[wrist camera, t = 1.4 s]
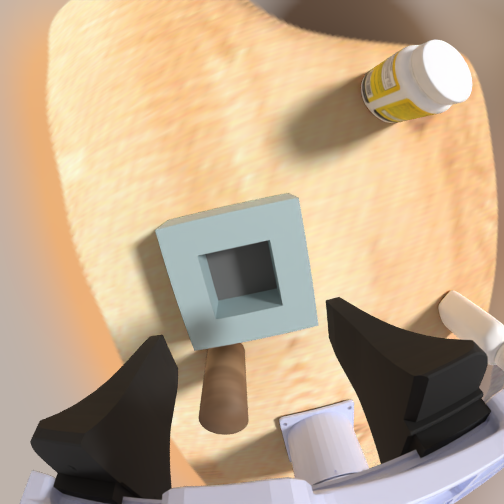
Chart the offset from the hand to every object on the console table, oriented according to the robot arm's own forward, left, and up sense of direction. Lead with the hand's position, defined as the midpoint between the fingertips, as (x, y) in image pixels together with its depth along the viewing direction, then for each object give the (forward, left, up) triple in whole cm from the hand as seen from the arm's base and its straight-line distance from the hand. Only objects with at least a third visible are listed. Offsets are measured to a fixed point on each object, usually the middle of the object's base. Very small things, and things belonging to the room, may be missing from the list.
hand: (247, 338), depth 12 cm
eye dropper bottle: (-10, -20, -11) cm, 25 cm away
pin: (-8, +3, -10) cm, 13 cm away
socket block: (0, 0, -10) cm, 10 cm away
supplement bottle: (+11, -14, -11) cm, 21 cm away
